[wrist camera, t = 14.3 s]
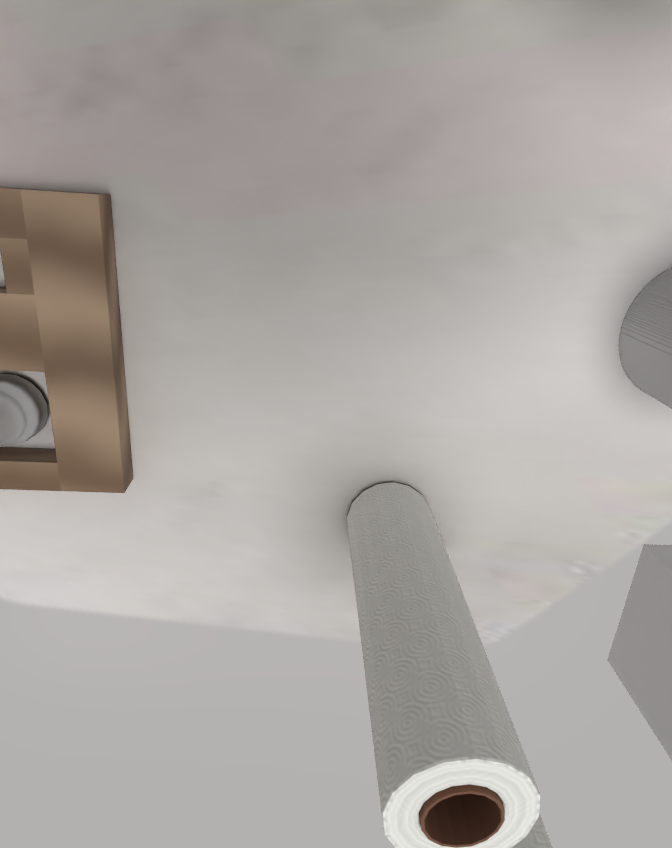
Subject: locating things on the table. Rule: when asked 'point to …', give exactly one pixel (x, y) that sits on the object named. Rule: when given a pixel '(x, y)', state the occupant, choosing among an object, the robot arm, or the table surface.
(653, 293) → the cup
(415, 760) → the paper towel roll
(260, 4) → the table surface
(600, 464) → the table surface
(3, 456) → the socket board
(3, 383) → the rook chess piece
